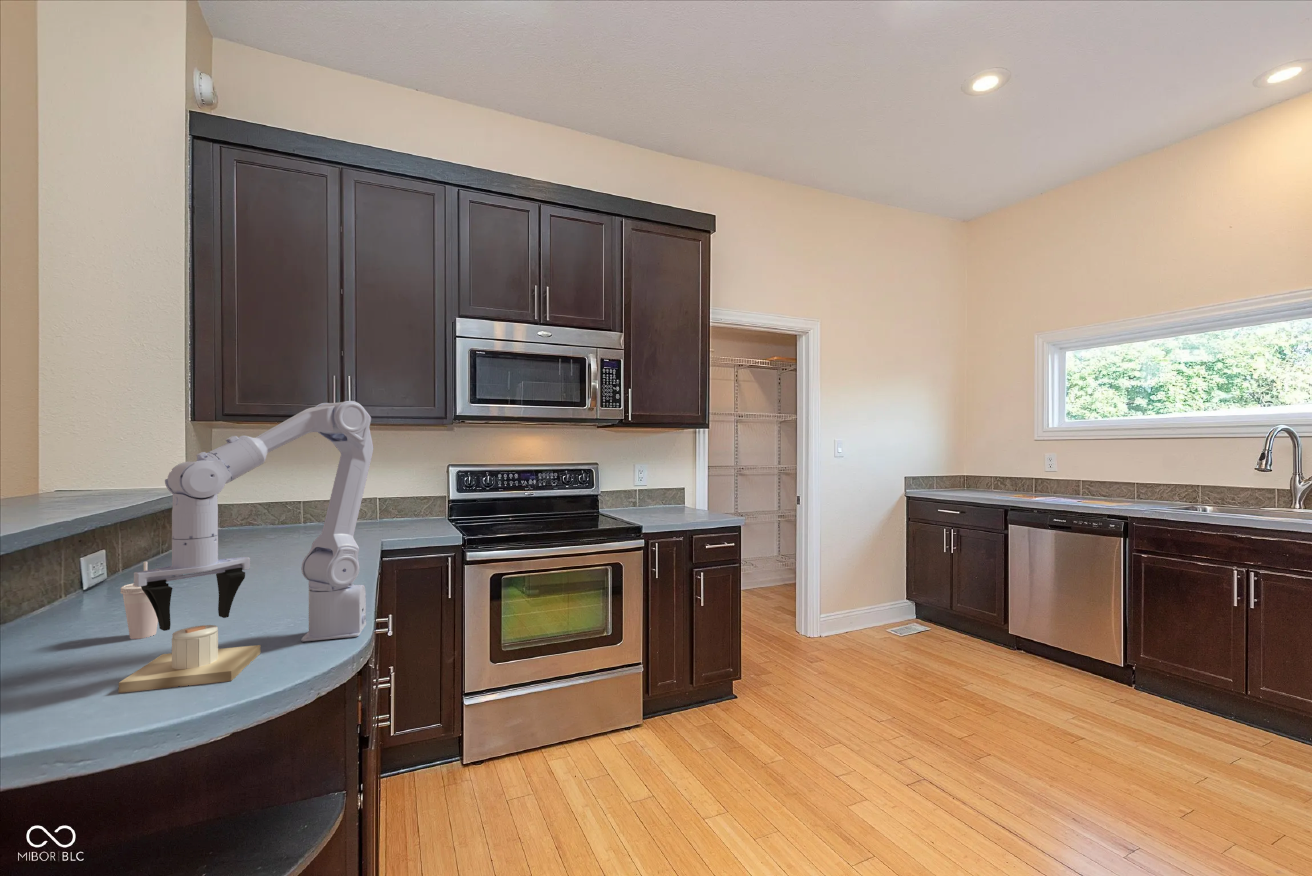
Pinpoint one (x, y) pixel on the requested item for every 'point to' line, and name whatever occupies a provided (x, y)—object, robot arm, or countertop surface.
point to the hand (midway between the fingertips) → (195, 622)
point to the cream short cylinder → (194, 646)
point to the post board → (190, 671)
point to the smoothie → (139, 611)
